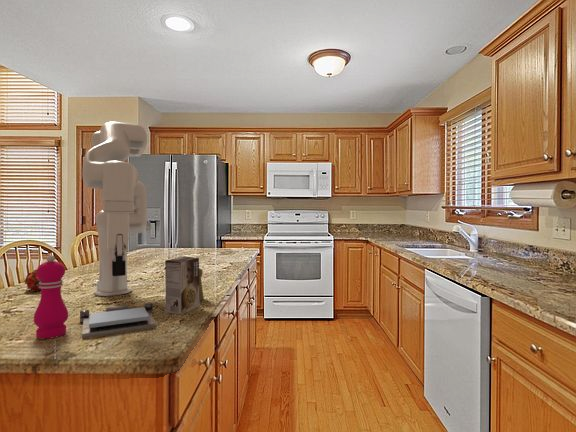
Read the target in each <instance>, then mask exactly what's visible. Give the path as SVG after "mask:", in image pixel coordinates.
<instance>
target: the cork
mask: <svg viewBox="0 0 576 432" xmlns="http://www.w3.org/2000/svg"><path fill="white" fill-rule="evenodd" d="M202 276H203V269H202V268H201V267H199V302H202V301H203V300H205V298H204V291H203V283H202Z"/></svg>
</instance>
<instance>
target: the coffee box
mask: <svg viewBox="0 0 576 432" xmlns="http://www.w3.org/2000/svg"><path fill="white" fill-rule="evenodd" d="M164 262H165V264H164V265H165V271H164V272H165V277H164V278H165V313H168V314H175V315H183V314H185V313H188V312H190V311H193V310H195V309H197V308H199V307H200V301H199V268H200V257H195V256H194V257H193V256H180V257H176V258H169V259H166V260H165V261H164Z"/></svg>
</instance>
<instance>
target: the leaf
mask: <svg viewBox="0 0 576 432" xmlns="http://www.w3.org/2000/svg"><path fill="white" fill-rule="evenodd" d="M89 318H90V320H89V328H94V327H101V326H108V325H115V324H123V323H130V322H137V321H144V320H149V315H148V313H147V311H146V310H145V308H144V306H142V307H134V308H130V305H129V304H126V305H119V306H110V307H109V306H108V307H105V311H102V312H94V313H89Z"/></svg>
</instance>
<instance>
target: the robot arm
mask: <svg viewBox="0 0 576 432" xmlns="http://www.w3.org/2000/svg"><path fill="white" fill-rule="evenodd" d="M90 139H91V142H90V143H91V147H92V148H90V149H89V150H88V151H86V153H85V154H84V157H83V159H82V160H83V161H82V180H83V183H84V185H85V186H86V187H87V188H90V189H94V190H95V189H96V190H99V194H100V196H99V197H100V200H101V202H102V210H100V211H99V212H97V213H96V216H95V222H96V223H95V226H96V230H97V236H98V278H99V279H96V280H95V281H94V282H92V287H96V289H95V290H94V291H93V292H94V295H95V296H98V297H99V296H100V297H110V296H111V297H112V296H119V295H124V294H128V293H131V292H132V290H133V289H132V287H131V286H130V285H128V248H129V239H130V234H141V233H142V234H143V233H144V232H145V231H146V230H147V225H148V213H147V212H148V211H147V210H148V208H147V205H148V203H147V200H148V199H147V189H146V186H145V183H143V182H142V181H140V176H139V171H138V170H137V168H136V167H135V166H134V165H133V164H132V163H131V162H127V161H126V160H128V159H129V158H130V157H132V158H133V157H141V156H142V155H143V154H144V152H145V150H146V147H147V144H148V135H147V131H146V129H145V128H144V126H143V125H141V124H137V123H129V122H119V121H109V122H104V124H103V125H101V128H100V130H99V131H96V132H93V133H92V135H91V138H90Z"/></svg>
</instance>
